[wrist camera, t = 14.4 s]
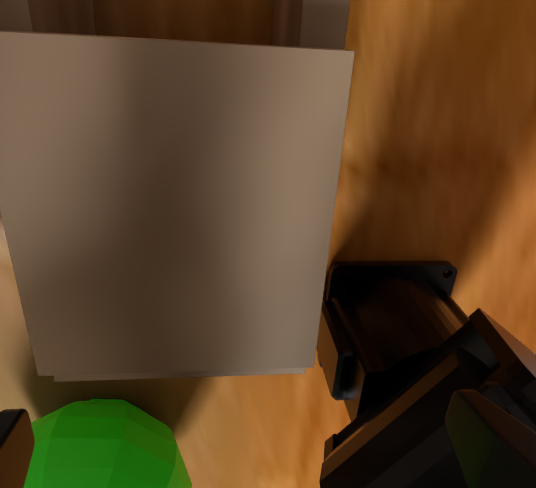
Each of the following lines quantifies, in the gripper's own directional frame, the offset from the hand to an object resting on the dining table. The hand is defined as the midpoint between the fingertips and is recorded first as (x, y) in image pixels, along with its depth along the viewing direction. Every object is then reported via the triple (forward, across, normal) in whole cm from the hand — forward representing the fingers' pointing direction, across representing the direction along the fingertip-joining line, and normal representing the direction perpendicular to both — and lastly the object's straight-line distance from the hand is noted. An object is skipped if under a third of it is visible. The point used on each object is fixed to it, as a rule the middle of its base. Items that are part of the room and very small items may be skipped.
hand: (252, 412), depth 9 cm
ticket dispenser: (+12, +2, -3) cm, 12 cm away
